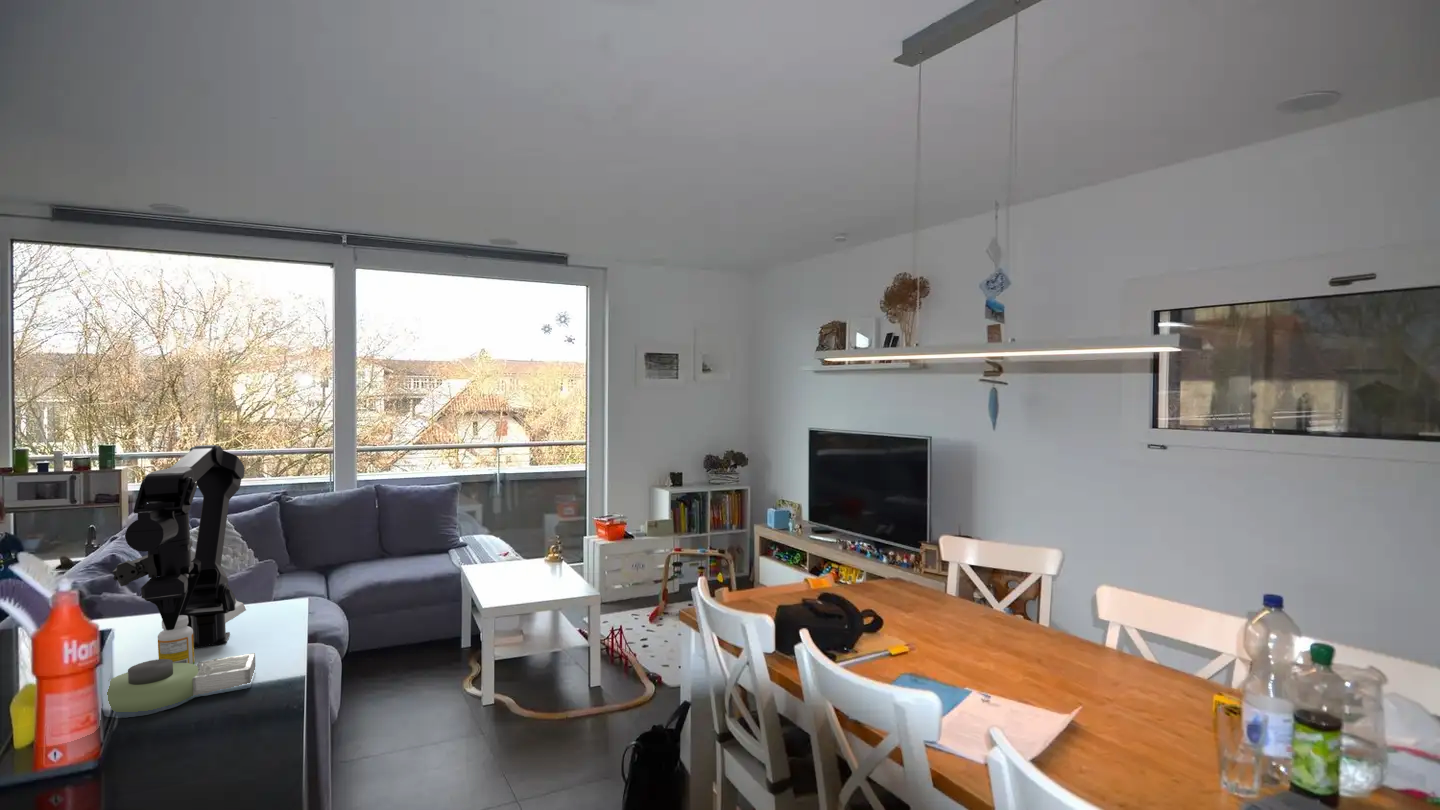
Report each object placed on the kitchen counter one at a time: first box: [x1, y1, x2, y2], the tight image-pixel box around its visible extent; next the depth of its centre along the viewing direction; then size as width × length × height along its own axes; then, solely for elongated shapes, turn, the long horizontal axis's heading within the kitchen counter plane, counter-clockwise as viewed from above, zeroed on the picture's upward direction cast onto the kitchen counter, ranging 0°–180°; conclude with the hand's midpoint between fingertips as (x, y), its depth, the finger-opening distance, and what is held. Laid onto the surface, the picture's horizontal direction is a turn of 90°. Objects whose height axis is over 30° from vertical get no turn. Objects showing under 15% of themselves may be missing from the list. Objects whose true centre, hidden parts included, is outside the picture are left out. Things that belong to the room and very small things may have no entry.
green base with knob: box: [107, 658, 198, 712], centre depth 126 cm, size 13×13×6 cm
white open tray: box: [192, 652, 256, 695], centre depth 132 cm, size 9×9×4 cm
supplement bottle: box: [157, 615, 196, 665], centre depth 140 cm, size 5×5×10 cm
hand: (175, 622), depth 140 cm, fingers open, 9 cm apart
